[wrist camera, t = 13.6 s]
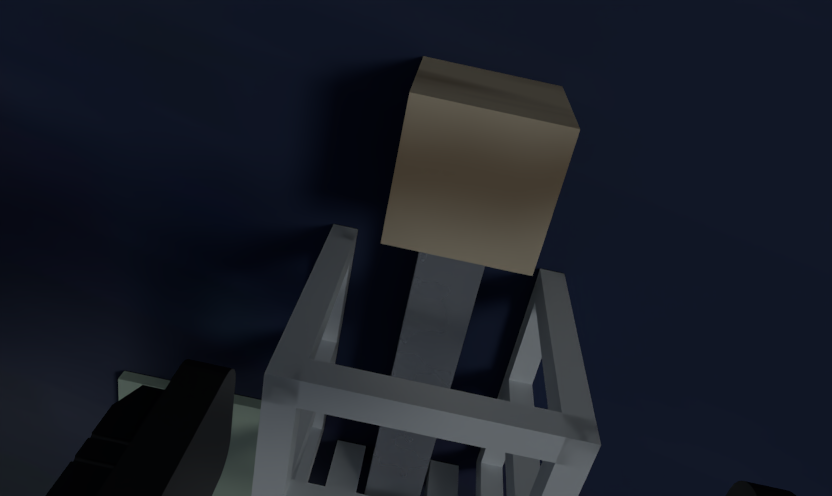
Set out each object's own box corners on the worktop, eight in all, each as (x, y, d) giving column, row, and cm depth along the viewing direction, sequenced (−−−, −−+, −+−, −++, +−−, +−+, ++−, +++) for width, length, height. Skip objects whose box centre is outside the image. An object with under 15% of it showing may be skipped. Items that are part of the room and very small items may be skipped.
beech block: (524, 211, 26) (532, 275, 21) (398, 184, 26) (380, 243, 21) (561, 85, 23) (580, 129, 19) (423, 55, 23) (409, 92, 19)
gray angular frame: (488, 487, 33) (490, 690, 24) (300, 447, 32) (236, 637, 24) (564, 273, 27) (601, 445, 18) (333, 224, 27) (264, 373, 18)
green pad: (274, 518, 35) (272, 528, 35) (127, 487, 35) (121, 496, 34) (290, 406, 31) (286, 414, 31) (124, 370, 31) (118, 378, 31)
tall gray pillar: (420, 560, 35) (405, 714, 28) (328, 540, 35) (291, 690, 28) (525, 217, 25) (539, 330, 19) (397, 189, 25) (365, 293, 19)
